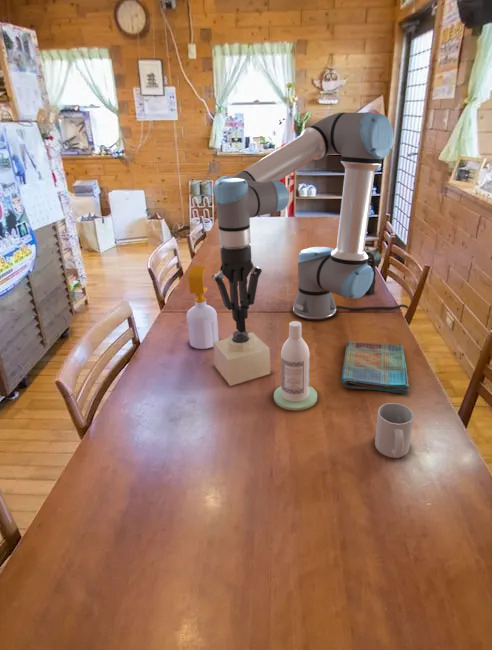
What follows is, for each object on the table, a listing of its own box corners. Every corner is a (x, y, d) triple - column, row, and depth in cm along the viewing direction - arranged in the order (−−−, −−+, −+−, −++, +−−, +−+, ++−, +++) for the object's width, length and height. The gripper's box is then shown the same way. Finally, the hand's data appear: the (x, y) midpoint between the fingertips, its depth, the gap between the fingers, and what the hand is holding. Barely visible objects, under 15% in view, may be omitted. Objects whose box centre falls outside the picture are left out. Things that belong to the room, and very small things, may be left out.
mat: (309, 382, 121) (310, 379, 120) (322, 406, 111) (323, 404, 111) (269, 388, 119) (269, 385, 118) (279, 413, 109) (279, 410, 109)
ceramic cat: (379, 292, 176) (384, 242, 168) (370, 297, 172) (374, 246, 163) (338, 280, 189) (340, 233, 180) (328, 284, 184) (330, 236, 176)
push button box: (253, 356, 134) (252, 325, 129) (270, 373, 125) (269, 341, 121) (215, 366, 129) (212, 335, 124) (230, 385, 120) (227, 353, 116)
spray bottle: (221, 336, 145) (216, 263, 135) (215, 350, 137) (208, 273, 127) (194, 335, 146) (186, 262, 136) (186, 349, 138) (177, 273, 128)
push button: (244, 335, 125) (244, 328, 124) (250, 341, 122) (250, 334, 121) (231, 338, 123) (230, 332, 123) (236, 345, 120) (236, 338, 119)
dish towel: (340, 388, 118) (341, 380, 117) (345, 345, 139) (346, 338, 138) (408, 395, 115) (410, 386, 114) (403, 349, 136) (404, 342, 134)
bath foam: (292, 383, 119) (292, 314, 110) (314, 393, 115) (316, 322, 106) (275, 395, 114) (274, 324, 106) (297, 406, 110) (297, 333, 101)
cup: (405, 436, 101) (409, 403, 97) (415, 468, 92) (420, 434, 88) (372, 435, 101) (375, 402, 97) (379, 468, 92) (383, 433, 88)
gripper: (252, 237, 117) (256, 319, 127) (204, 245, 112) (213, 330, 122) (265, 244, 111) (269, 329, 121) (216, 253, 106) (223, 342, 116)
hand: (241, 330), depth 122 cm, fingers closed
